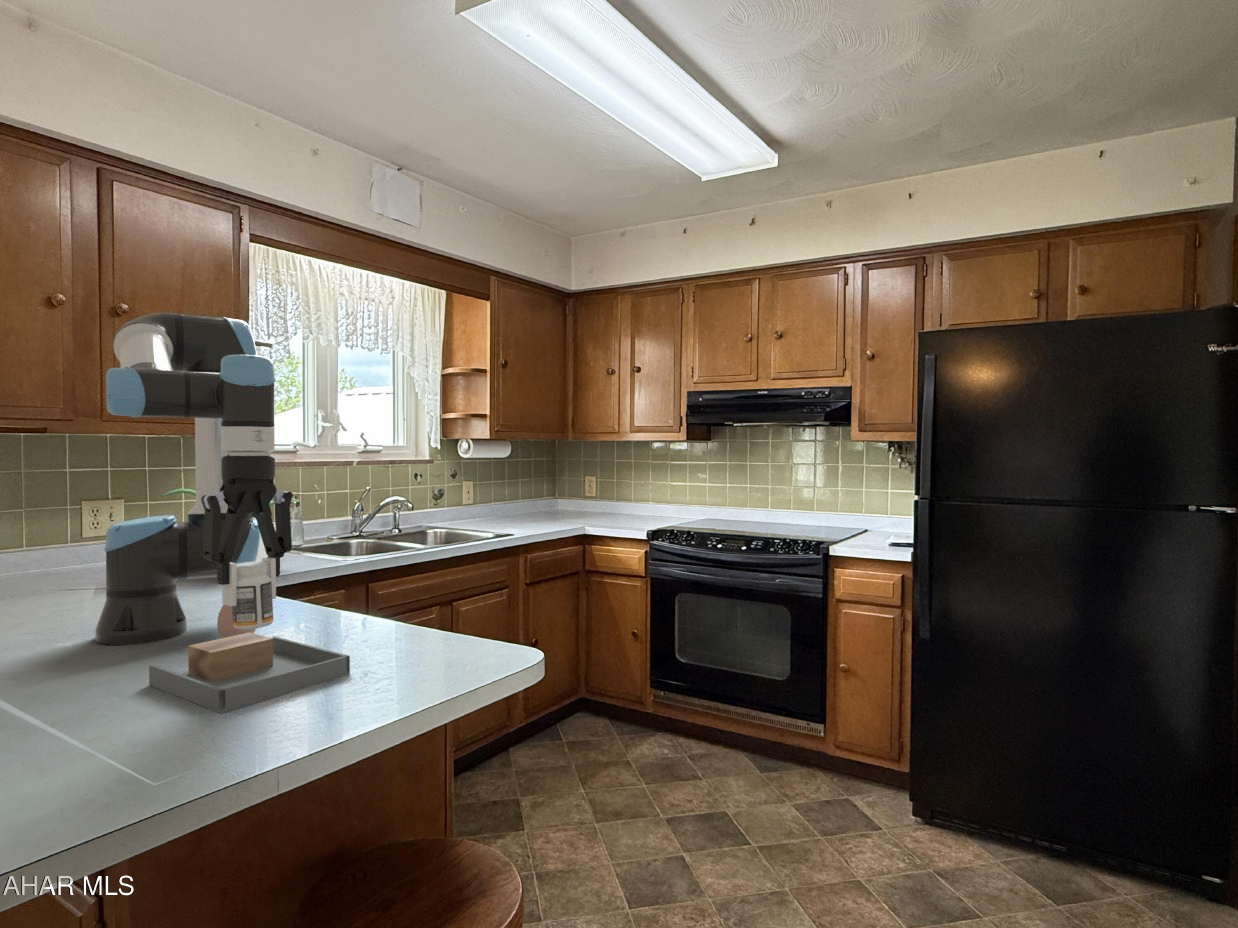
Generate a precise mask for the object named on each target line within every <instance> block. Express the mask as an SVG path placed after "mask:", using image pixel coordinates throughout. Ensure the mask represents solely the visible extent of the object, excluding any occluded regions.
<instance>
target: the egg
mask: <svg viewBox="0 0 1238 928" xmlns="http://www.w3.org/2000/svg"><path fill="white" fill-rule="evenodd" d="M216 621H217V622H216V623H217V630H218V633H219V635H220V636H221V638H226V637H231V636H235V635H240V634H245V633H249V632H250V633H254V634H255V632H256V630H257V628H256V629H247V630H240V629H236V628H234V626H233V614H232V606H228V605H224V604H222V605H221V607H220V611H219V612H218V616H217V620H216Z"/></svg>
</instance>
